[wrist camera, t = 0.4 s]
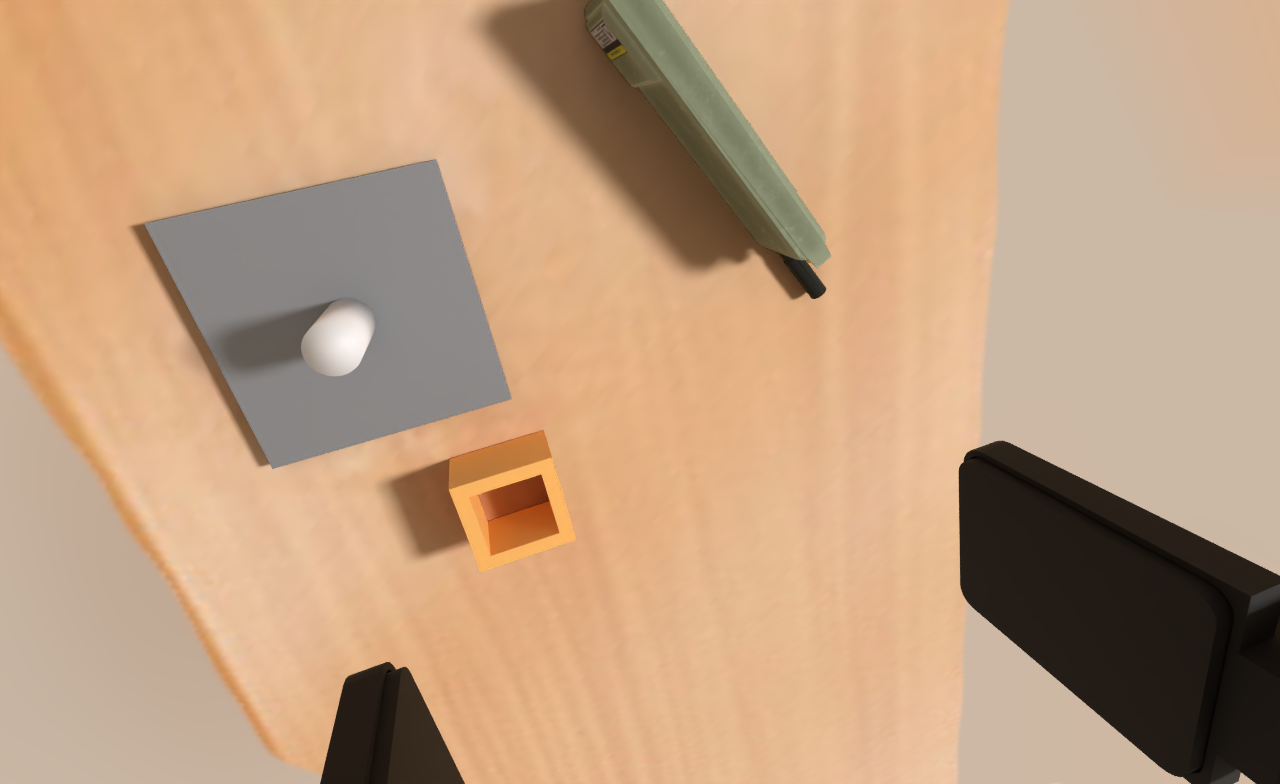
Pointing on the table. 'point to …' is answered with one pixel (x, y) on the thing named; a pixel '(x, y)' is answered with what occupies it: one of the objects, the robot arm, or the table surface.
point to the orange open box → (518, 529)
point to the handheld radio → (710, 128)
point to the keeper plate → (310, 269)
